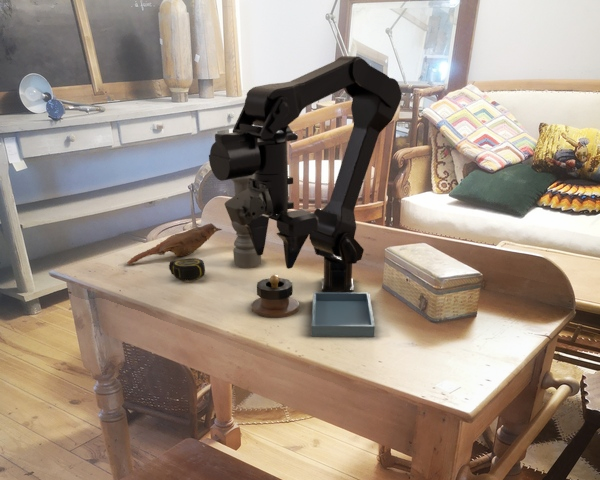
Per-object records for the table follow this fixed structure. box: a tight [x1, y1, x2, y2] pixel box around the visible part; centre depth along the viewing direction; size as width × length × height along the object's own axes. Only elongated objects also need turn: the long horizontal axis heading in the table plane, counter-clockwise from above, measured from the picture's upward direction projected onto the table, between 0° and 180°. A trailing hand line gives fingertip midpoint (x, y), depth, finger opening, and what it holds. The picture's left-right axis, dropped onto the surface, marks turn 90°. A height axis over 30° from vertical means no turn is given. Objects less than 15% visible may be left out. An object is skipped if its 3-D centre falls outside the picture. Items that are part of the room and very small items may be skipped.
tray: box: [311, 291, 376, 338], centre depth 108 cm, size 15×11×2 cm
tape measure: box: [168, 257, 206, 282], centre depth 126 cm, size 7×7×4 cm
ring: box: [256, 277, 294, 300], centre depth 111 cm, size 7×7×2 cm
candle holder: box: [230, 174, 262, 269], centre depth 128 cm, size 6×6×25 cm
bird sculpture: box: [126, 222, 223, 265], centre depth 139 cm, size 7×25×5 cm, turn 127°
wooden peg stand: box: [251, 274, 300, 319], centre depth 111 cm, size 9×9×6 cm
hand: (274, 261), depth 108 cm, fingers open, 9 cm apart
